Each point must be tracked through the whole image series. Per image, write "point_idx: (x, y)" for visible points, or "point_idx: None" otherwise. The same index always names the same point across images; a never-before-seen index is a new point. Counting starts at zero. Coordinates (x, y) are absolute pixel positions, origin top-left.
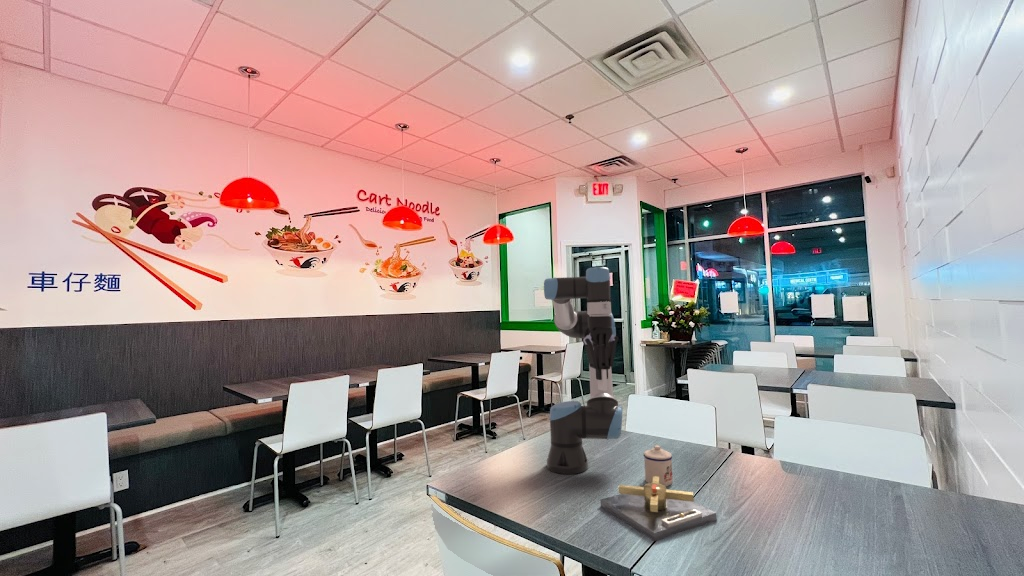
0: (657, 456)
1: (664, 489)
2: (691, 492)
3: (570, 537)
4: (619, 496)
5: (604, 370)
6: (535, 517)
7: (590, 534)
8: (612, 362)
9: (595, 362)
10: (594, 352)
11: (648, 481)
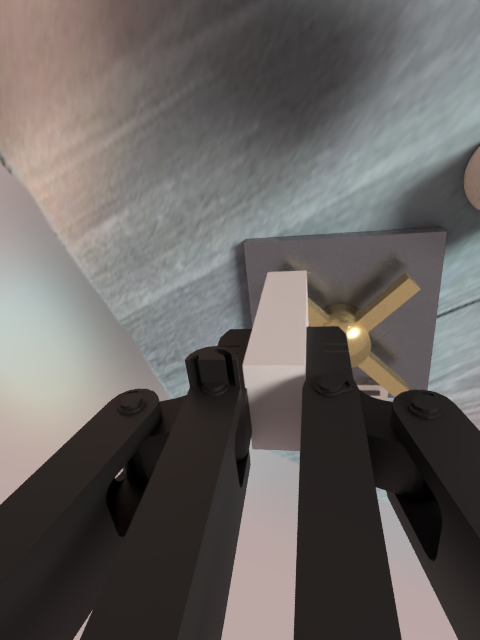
0: None
1: (353, 365)
2: (405, 389)
3: (132, 317)
4: (297, 250)
5: (282, 442)
6: (87, 221)
7: (170, 325)
8: (439, 520)
9: (129, 523)
10: (101, 615)
11: (465, 175)
